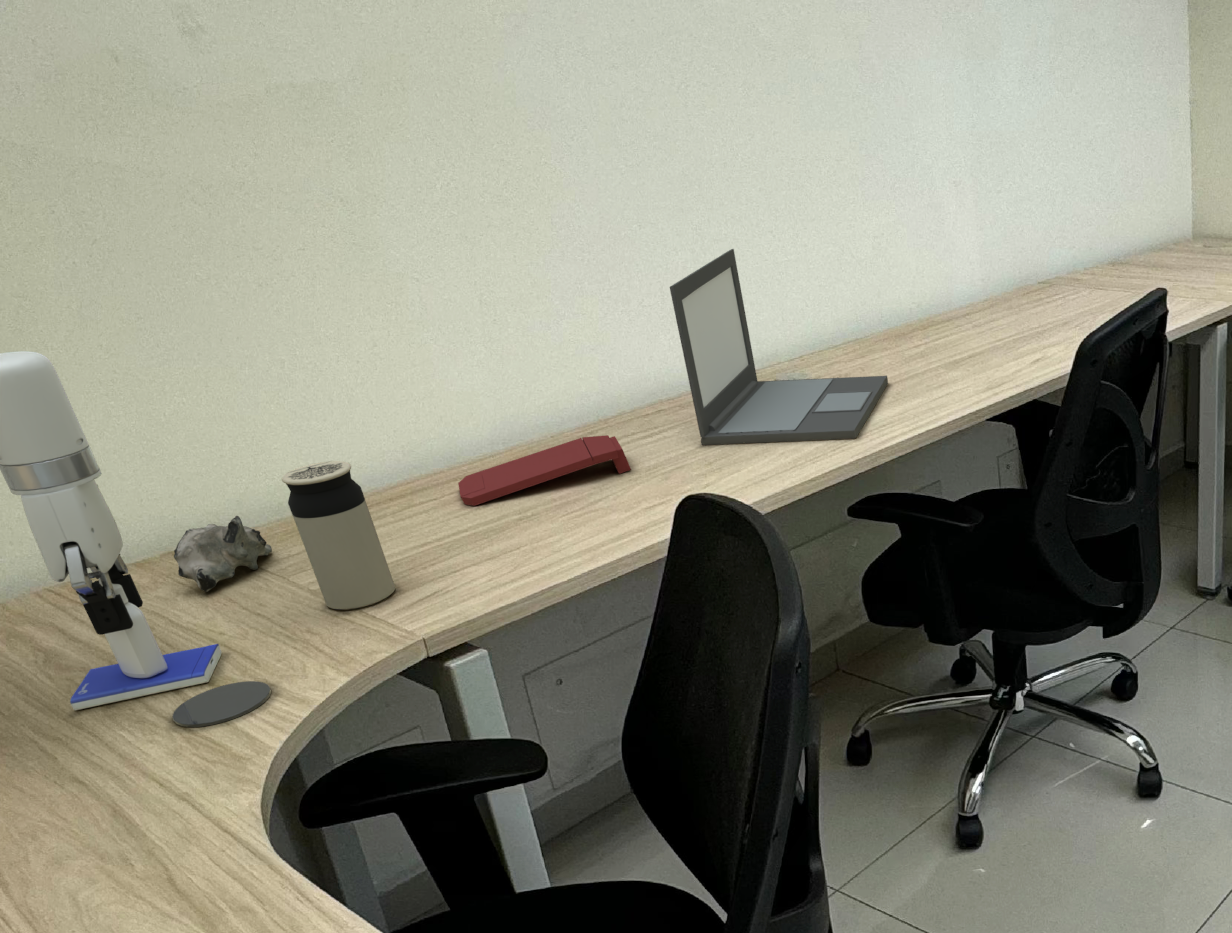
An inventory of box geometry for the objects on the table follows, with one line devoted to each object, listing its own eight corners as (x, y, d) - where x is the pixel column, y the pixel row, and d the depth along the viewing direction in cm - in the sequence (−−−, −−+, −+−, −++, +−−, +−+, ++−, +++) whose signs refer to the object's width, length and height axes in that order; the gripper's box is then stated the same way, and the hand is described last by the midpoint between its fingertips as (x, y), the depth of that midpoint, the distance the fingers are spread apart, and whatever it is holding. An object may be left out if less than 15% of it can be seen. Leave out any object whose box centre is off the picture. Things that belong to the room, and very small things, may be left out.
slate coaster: (167, 736, 122) (166, 733, 122) (180, 699, 130) (178, 696, 129) (267, 711, 126) (266, 708, 126) (274, 676, 134) (273, 673, 133)
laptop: (855, 439, 203) (832, 279, 191) (700, 445, 203) (667, 286, 191) (888, 383, 235) (869, 242, 223) (753, 389, 235) (728, 249, 223)
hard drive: (68, 700, 127) (203, 672, 132) (90, 667, 134) (217, 641, 139) (74, 712, 128) (208, 683, 133) (96, 678, 134) (222, 653, 139)
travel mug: (403, 596, 152) (359, 469, 144) (334, 617, 147) (285, 487, 139) (387, 579, 157) (345, 455, 149) (321, 598, 152) (273, 471, 144)
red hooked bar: (475, 528, 182) (633, 473, 191) (461, 501, 179) (621, 446, 189) (470, 504, 191) (621, 453, 200) (457, 478, 189) (610, 427, 198)
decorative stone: (199, 554, 165) (193, 489, 161) (277, 556, 169) (272, 493, 165) (167, 603, 152) (159, 534, 148) (252, 604, 156) (246, 537, 152)
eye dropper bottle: (120, 686, 129) (75, 592, 124) (122, 667, 133) (79, 575, 128) (168, 673, 132) (126, 580, 126) (169, 655, 136) (128, 563, 131)
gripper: (26, 454, 127) (95, 599, 135) (-18, 502, 113) (62, 660, 121) (111, 441, 130) (173, 583, 138) (78, 486, 117) (149, 641, 124)
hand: (120, 618), depth 129 cm, fingers closed on eye dropper bottle, 5 cm apart
